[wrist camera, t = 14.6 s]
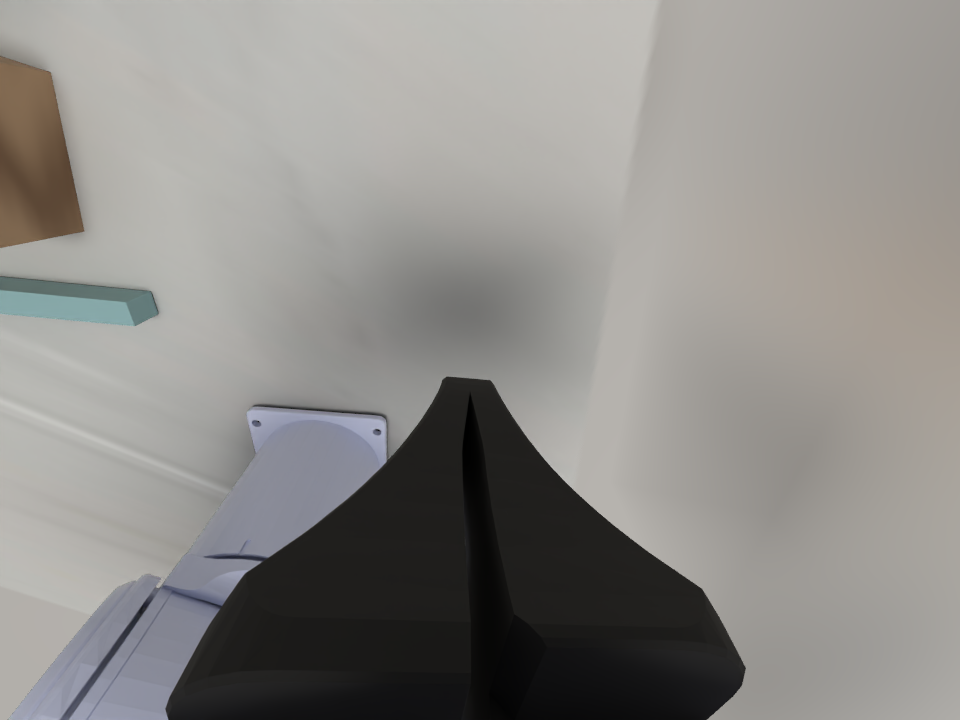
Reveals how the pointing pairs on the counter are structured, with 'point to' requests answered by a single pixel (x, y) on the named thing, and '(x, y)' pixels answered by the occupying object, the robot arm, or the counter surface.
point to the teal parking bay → (75, 302)
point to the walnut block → (33, 159)
